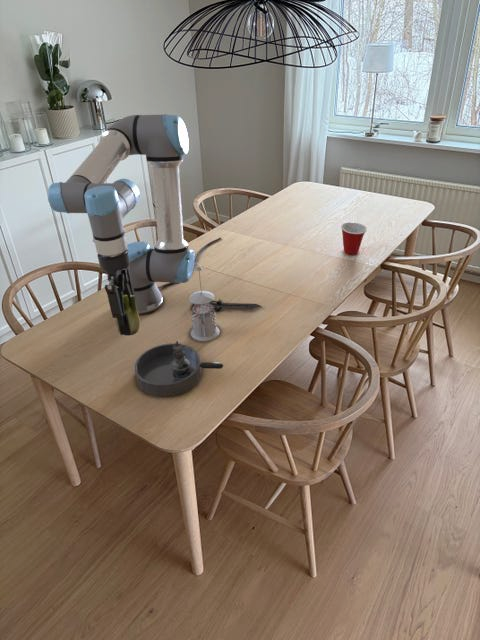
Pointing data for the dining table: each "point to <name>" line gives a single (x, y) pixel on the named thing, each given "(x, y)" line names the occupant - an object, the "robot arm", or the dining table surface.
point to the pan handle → (211, 365)
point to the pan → (165, 371)
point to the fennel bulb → (131, 314)
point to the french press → (203, 315)
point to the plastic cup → (352, 237)
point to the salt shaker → (180, 362)
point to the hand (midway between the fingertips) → (128, 327)
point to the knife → (232, 305)
